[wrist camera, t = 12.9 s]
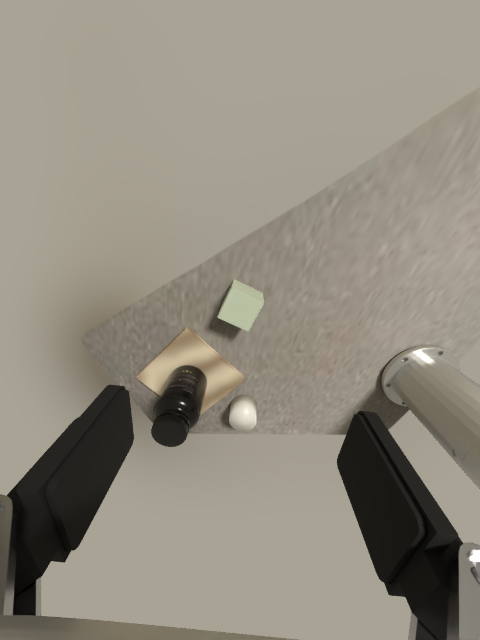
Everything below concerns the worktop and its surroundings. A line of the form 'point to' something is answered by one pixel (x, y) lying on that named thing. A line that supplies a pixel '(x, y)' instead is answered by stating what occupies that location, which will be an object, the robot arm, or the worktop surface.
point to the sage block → (241, 305)
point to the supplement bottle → (179, 405)
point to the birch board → (193, 353)
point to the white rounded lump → (243, 413)
